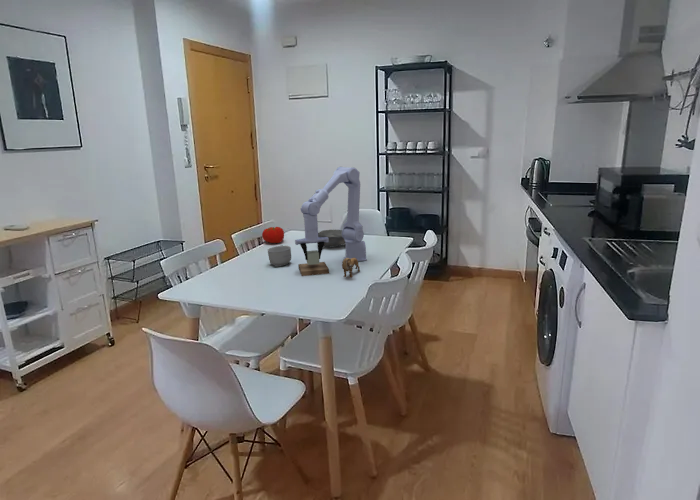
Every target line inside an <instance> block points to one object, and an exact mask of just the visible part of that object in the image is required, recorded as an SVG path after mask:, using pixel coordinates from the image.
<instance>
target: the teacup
mask: <svg viewBox="0 0 700 500" xmlns="http://www.w3.org/2000/svg"><path fill="white" fill-rule="evenodd" d="M267 255H268V259H269V263H271V264H272V265H273V266H274V267H275V266H276V267H281V266H282V267H283V266H286V265H288V264H289V263H290V262H291V260H292V248H291V246H290V245H283V244H280V245H275V246H272V247H269V248H268V249H267Z"/></svg>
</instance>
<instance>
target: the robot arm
mask: <svg viewBox="0 0 700 500" xmlns="http://www.w3.org/2000/svg"><path fill="white" fill-rule="evenodd" d="M341 183H342V184H344V185H345V187H347V188H348V189H347V191H348V192H347V213H346V216H347V217H346V221H345V222H344V224H343V227H342V229H341V230H342V237H343V238H344V241H345V244H344V245H345V256H344V257H343V260H344V259H345V258H350V259H351V258H356V259H357V260H358V262H364V261H367V246H366V245H367V244H366V242H365V241H364V240H363V239H364V235H365V233H364V230H363V229H364V228H363V225H362V224H361V222H360V220H359V219H360V203H361V200H360V199H361V181H360V171H359V170H358V169H357V168H356V167H353V166H352V167H347V166H339V167H337V168H336V169H335V170H334V171H333V174H332V176H331V177H330V179H329V180H328V181H327V182H326V184H324V186H323V188H319V189H316V190H315V192H314V194H313V195H312V196H311V197H309V198H308V200H307V201H304V202H303V203H302V204H301V207H300V212H301V213H302V216H303V220H304V221H303V222H304V223H303V224H304V238H298V239H297V238H296V239H295V240H294V243H295V246H298V245H299V246H300V247H301V248H302V252H303V255H304V259H305V261H307V260H308V257H307V251H308V246H307V244H309V245H310V244H316V245H317V251H318V252H319V260H320V259H321V255H322V251H323V249H324V247H325V246H324V242H329V238H328V237H318V232H319V224H318V223H319V222H318V214H319V213H320V210H321V208H322V206H323V205H324V204H325V203H326V201H327V200H328V199H329V194H330V193H331V192H332V191H333V190H334V189H335V188H337V186H338V185H339V184H341Z"/></svg>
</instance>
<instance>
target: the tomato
mask: <svg viewBox="0 0 700 500" xmlns="http://www.w3.org/2000/svg"><path fill="white" fill-rule="evenodd" d="M261 237H262V239H263V241H264V242H266V243H271V244H280V243H281V242H283V241H284V239H285V231H284V229H283V228H281V227H280V226H271V227H270V226H269V227H268V228H265V229H264V230H263V231H262V234H261Z"/></svg>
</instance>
